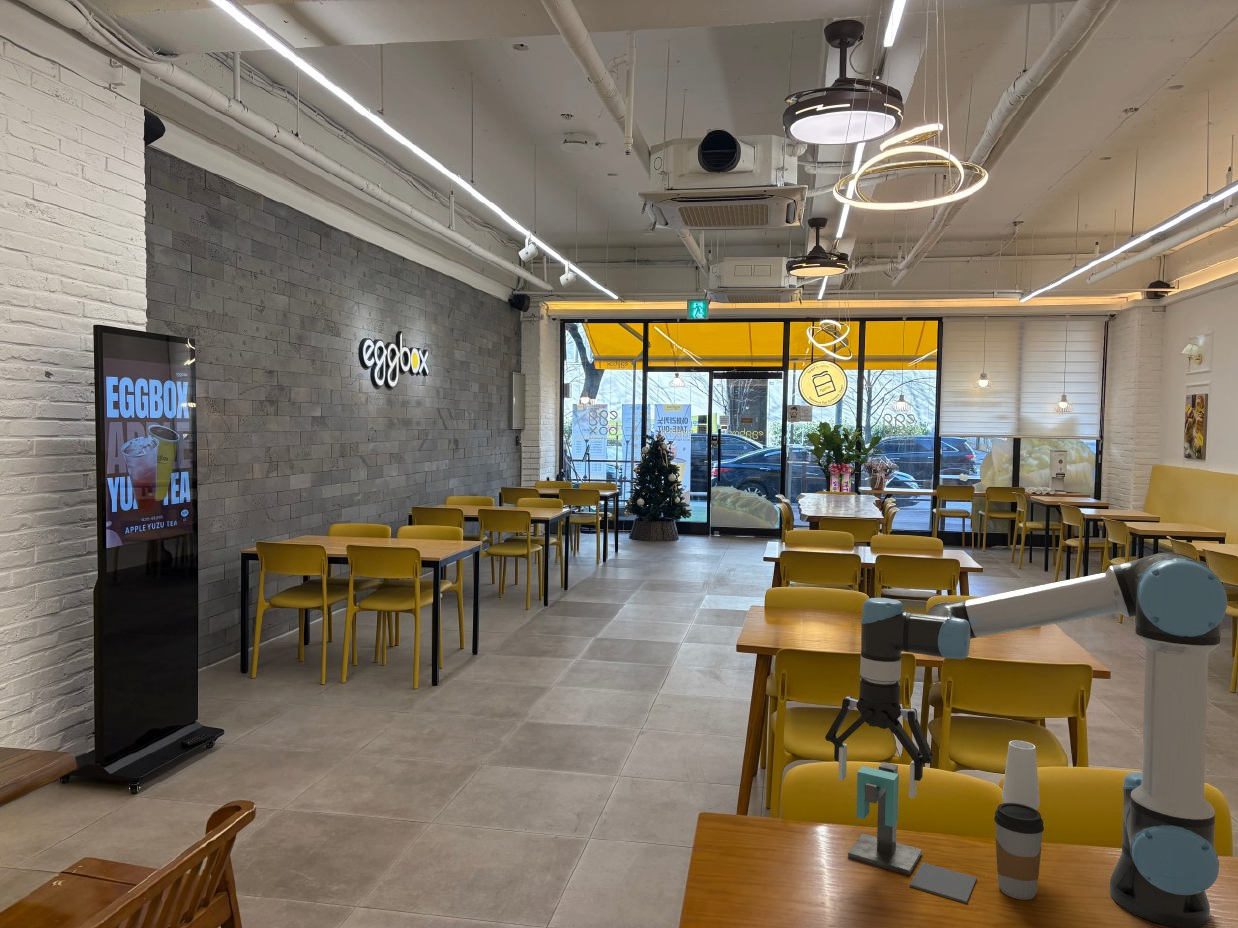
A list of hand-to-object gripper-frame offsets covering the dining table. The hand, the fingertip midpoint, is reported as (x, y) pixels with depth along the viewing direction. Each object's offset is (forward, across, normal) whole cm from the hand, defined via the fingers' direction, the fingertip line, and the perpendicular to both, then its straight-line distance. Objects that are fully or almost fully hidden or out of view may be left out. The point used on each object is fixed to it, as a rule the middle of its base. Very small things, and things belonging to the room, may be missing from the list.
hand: (876, 786), depth 157 cm
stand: (+16, 0, -3) cm, 17 cm away
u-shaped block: (+6, 0, 0) cm, 6 cm away
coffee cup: (+16, -24, -8) cm, 30 cm away
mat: (+16, -12, -2) cm, 20 cm away
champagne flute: (+16, -23, -18) cm, 34 cm away
